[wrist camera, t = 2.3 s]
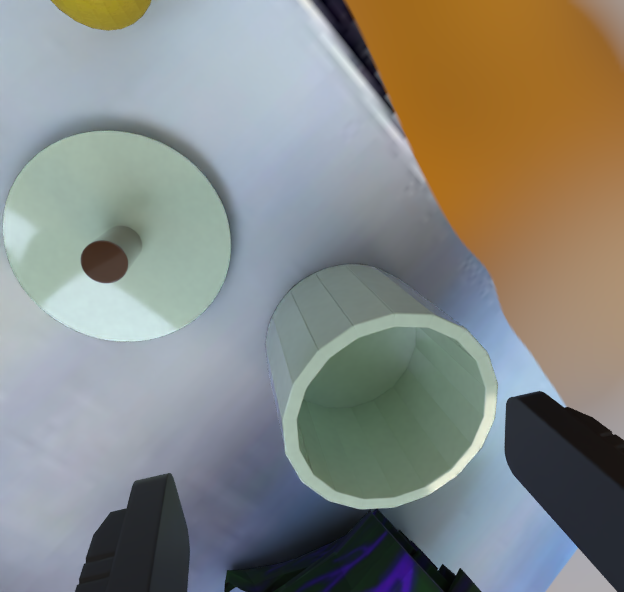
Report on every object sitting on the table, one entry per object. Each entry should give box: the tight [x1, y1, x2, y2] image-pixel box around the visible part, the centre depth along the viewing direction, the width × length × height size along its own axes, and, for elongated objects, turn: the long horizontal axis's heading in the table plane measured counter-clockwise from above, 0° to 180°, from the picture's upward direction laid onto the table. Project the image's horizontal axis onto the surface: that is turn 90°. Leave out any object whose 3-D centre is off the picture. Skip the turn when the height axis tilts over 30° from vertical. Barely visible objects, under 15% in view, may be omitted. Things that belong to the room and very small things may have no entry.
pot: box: [265, 264, 498, 510], centre depth 30 cm, size 13×13×10 cm
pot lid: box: [3, 130, 231, 342], centre depth 27 cm, size 14×14×6 cm
